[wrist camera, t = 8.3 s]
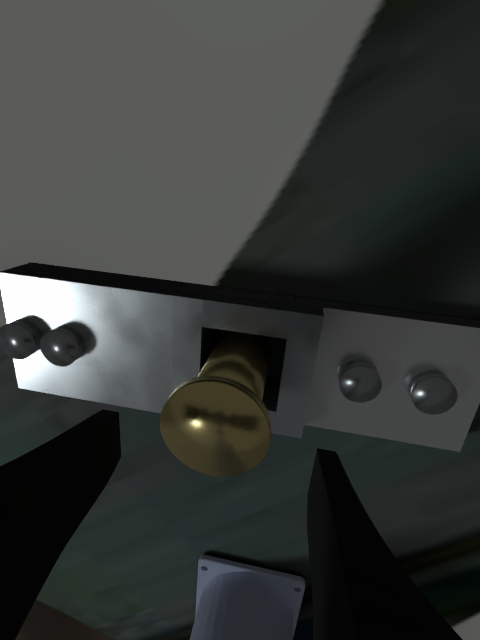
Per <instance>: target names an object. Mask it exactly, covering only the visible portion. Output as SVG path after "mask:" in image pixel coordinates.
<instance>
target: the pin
mask: <svg viewBox="0 0 480 640" xmlns="http://www.w3.org/2000/svg"><path fill="white" fill-rule="evenodd" d="M270 358H271V350H270V346H269V344H268V342H267V340H266V339H265V338H264V337H263V336H262V335H255V334H248V333H241V332H234V331H228V330H227V331H225V332H224V333H223V334H222V335H221V336H220V337H219V339H218V341H217V343H216V344H215V346H214V348H213V350H212V352H211V353H210V355H209V357H208V359H207V361H206V363H205V364H204V366H203V368H202V370H201V372H200V373H199V375H198V377H195V378H192V379H190V380H187V381H185V382H184V383H182V384H181V385H179V386H178V387H177V388H176V389H175V390H174V391H173V392H172V394H171V395H170V397H169V398H168V400H167V402H166V403H165V405H164V407H163V409H162V412H161V416H160V429H161V434H162V437H163V439H164V441H165V443H166V445H167V447H168V448H169V450H170V451H171V452H172V453H173V455H174V456H175V457H176V458H177V459H178V460H180V461H181V462H182V463H184V464H185V465H187V466H188V467H190V468H192V469H194V470H196V471H198V472H201V473H204V474H207V475H212V476H220V477H228V476H236V475H240V474H243V473H246V472H248V471H250V470H251V469H253V468H255V467H256V466H257V465H258V464H259V463H260V462H261V461H262V460H263V458H264V457H265V455H266V453H267V451H268V448H269V444H270V437H271V420H270V415H269V413H268V410H267V408H266V407H265V405H264V403H263V402H262V398H263V393H264V388H265V383H266V378H267V373H268V368H269V363H270Z"/></svg>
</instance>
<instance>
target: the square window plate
mask: <svg viewBox="0 0 480 640" xmlns="http://www.w3.org/2000/svg"><path fill="white" fill-rule="evenodd" d="M181 289H185V290H193V291H201V292H208V293H216V294H223V295H231V296H239V297H246V298H254V299H261V300H269V301H277V302H284V303H292V304H299V305H307V306H314V307H322V308H323V313H324V319H323V324H322V330H321V335H320V340H319V346H318V351H317V357H316V362H315V368H314V373H313V378H312V384H311V389H310V395H309V400H308V405H307V411H306V416H305V422H304V425H309V426H315V427H320V428H326V429H332V430H338V431H343V432H349V433H355V434H361V435H366V436H372V437H378V438H384V439H389V440H395V441H401V442H407V443H412V444H418V445H424V446H430V447H435V448H441V449H447V450H453V451H458V452H460V450H461V448H462V446H463V443H464V441H465V438H466V436H467V433H468V431H469V428H470V426H471V423H472V421H473V418H474V416H475V413H476V411H477V408H478V406H479V403H480V320H472V319H464V318H456V317H449V316H441V315H433V314H426V313H418V312H410V311H402V310H395V309H387V308H379V307H371V306H364V305H356V304H348V303H340V302H333V301H325V300H317V299H309V298H302V297H294V296H286V295H278V294H271V293H263V292H255V291H247V290H240V289H232V288H224V287H217V286H209V285H201V284H193V283H187V284H186V285H185V286H183V287H182V288H181ZM211 340H212V328H207V343H206V361H207V359H208V357H209V355H210V353H211ZM286 340H287V339H286ZM285 347H286V345H285ZM284 354H285V352H284ZM283 361H284V359H283ZM205 363H206V362H205ZM282 368H283V366H282ZM281 375H282V373H281ZM280 382H281V379H280ZM279 388H280V386H279V387H274V386H268V385H265V388H264V393H263V397H269V398H276V399H278V395H279Z"/></svg>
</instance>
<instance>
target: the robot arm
mask: <svg viewBox="0 0 480 640" xmlns="http://www.w3.org/2000/svg"><path fill="white" fill-rule="evenodd" d="M120 457H121V445H120V427H119V412H114V411H109V410H101V411H100V412H98V413H96V414H94V415H93V416H91V417H89V418H87V419H86V420H84V421H82V422H81V423H79V424H77V425H76V426H74V427H72V428H71V429H69V430H67V431H66V432H64V433H62V434H60V435H59V436H57V437H55V438H54V439H52V440H50V441H48V442H47V443H45V444H43V445H41V446H39V447H37V448H35V449H34V450H32V451H30V452H28V453H26V454H24V455H22V456H20V457H19V458H17V459H15V460H13V461H10V462H8V463H6V464H4V465H2V466H0V640H15V639H16V637H17V635H18V633H19V631H20V629H21V627H22V625H23V623H24V621H25V619H26V617H27V615H28V613H29V611H30V609H31V607H32V606H33V604H34V602H35V600H36V598H37V596H38V594H39V592H40V590H41V588H42V587H43V585H44V583H45V581H46V579H47V577H48V576H49V574H50V572H51V570H52V568H53V567H54V565H55V563H56V561H57V559H58V558H59V556H60V554H61V552H62V551H63V549H64V548H65V546H66V544H67V543H68V541H69V540H70V538H71V537H72V535H73V534H74V532H75V531H76V529H77V528H78V526H79V525H80V523H81V522H82V520H83V519H84V517H85V516H86V515H87V513H88V512H89V510H90V509H91V507H92V506H93V504H94V503H95V501H96V500H97V498H98V497H99V495H100V494H101V492H102V491H103V489H104V488H105V486H106V484H107V483H108V481H109V479H110V477H111V475H112V474H113V472H114V470H115V468H116V466H117V464H118V462H119V459H120ZM307 531H308V545H309V558H310V572H311V585H312V598H313V640H462V639H461V638H460V636H459V635H458V634H457V633H456V632H455V631H454V630H453V629H452V628H451V627H450V625H449V624H448V623H447V622H446V621H445V620H444V619H443V618H442V616H441V615H440V614H439V613H438V612H437V610H436V609H435V608H434V607H433V606H432V604H431V603H430V602H429V601H428V600H427V598H426V597H425V596H424V595H423V594H422V592H421V591H420V590H419V589H418V587H417V586H416V585H415V584H414V582H413V581H412V580H411V578H410V577H409V576H408V574H407V573H406V572H405V570H404V569H403V568H402V566H401V565H400V564H399V562H398V561H397V559H396V558H395V556H394V555H393V554H392V552H391V551H390V549H389V548H388V546H387V545H386V543H385V542H384V540H383V539H382V537H381V536H380V534H379V532H378V531H377V529H376V528H375V526H374V524H373V523H372V521H371V519H370V518H369V516H368V514H367V513H366V511H365V509H364V507H363V505H362V504H361V502H360V500H359V498H358V496H357V494H356V492H355V491H354V489H353V487H352V485H351V483H350V481H349V478H348V476H347V474H346V472H345V470H344V468H343V466H342V463H341V461H340V459H339V456H338V454H337V453H336V452H335V451H329V450H324V449H318V448H317V452H316V457H315V462H314V466H313V471H312V476H311V481H310V486H309V490H308V506H307ZM304 590H305V580H304V578H302V577H300V576H296V575H292V574H287V573H283V572H279V571H274V570H270V569H265V568H261V567H257V566H252V565H248V564H244V563H239V562H235V561H230V560H226V559H222V558H217V557H213V556H208V555H202V556H200V559H199V562H198V580H197V598H196V615H195V621H194V625H193V629H192V633H191V637H190V640H293V636H294V632H295V628H296V624H297V619H298V615H299V611H300V607H301V603H302V598H303V594H304Z"/></svg>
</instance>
